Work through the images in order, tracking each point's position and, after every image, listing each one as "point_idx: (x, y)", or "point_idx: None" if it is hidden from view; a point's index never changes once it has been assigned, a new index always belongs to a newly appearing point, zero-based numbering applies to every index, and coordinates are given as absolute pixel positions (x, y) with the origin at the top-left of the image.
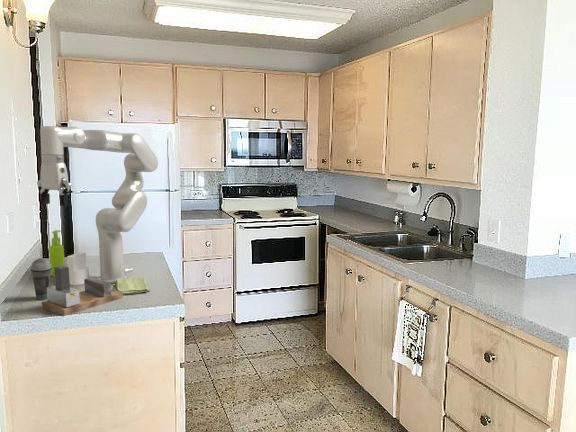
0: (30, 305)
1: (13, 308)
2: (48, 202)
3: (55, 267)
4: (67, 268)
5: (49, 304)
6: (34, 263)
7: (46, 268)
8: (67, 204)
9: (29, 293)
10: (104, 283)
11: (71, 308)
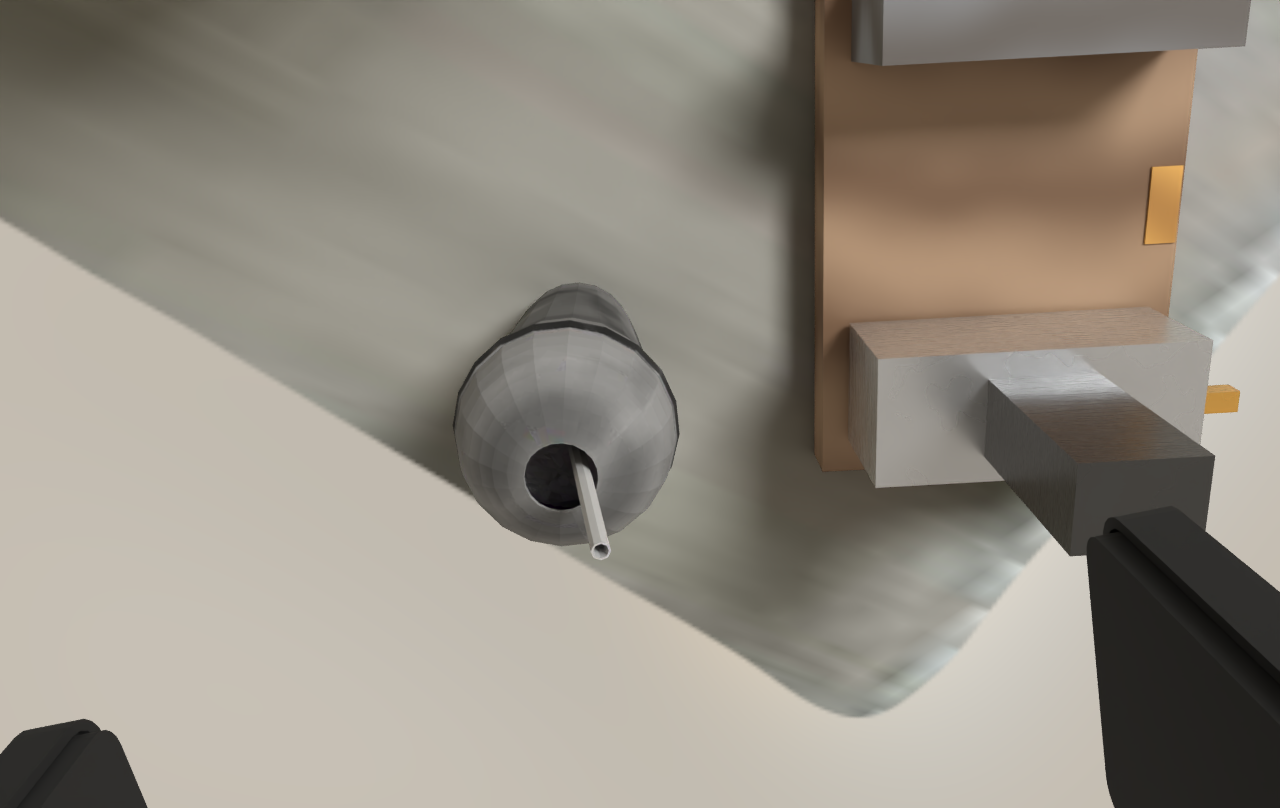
0: (681, 484)
1: (648, 591)
2: (108, 801)
3: None
4: (1206, 466)
5: None
6: (577, 541)
7: (673, 430)
8: (1178, 529)
9: (331, 342)
10: (1226, 18)
11: None
